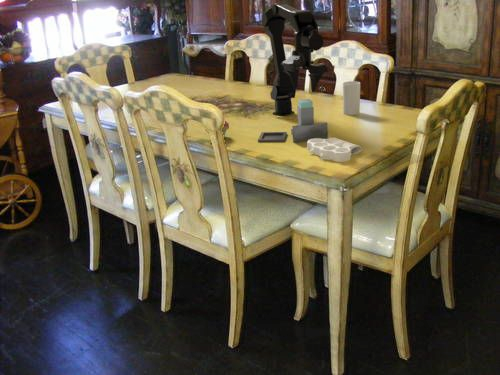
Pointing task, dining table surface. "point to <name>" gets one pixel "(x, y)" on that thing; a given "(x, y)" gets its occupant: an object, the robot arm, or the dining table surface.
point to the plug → (305, 112)
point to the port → (309, 132)
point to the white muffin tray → (332, 149)
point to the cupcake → (226, 126)
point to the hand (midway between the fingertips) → (304, 90)
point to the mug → (351, 98)
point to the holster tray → (272, 137)
